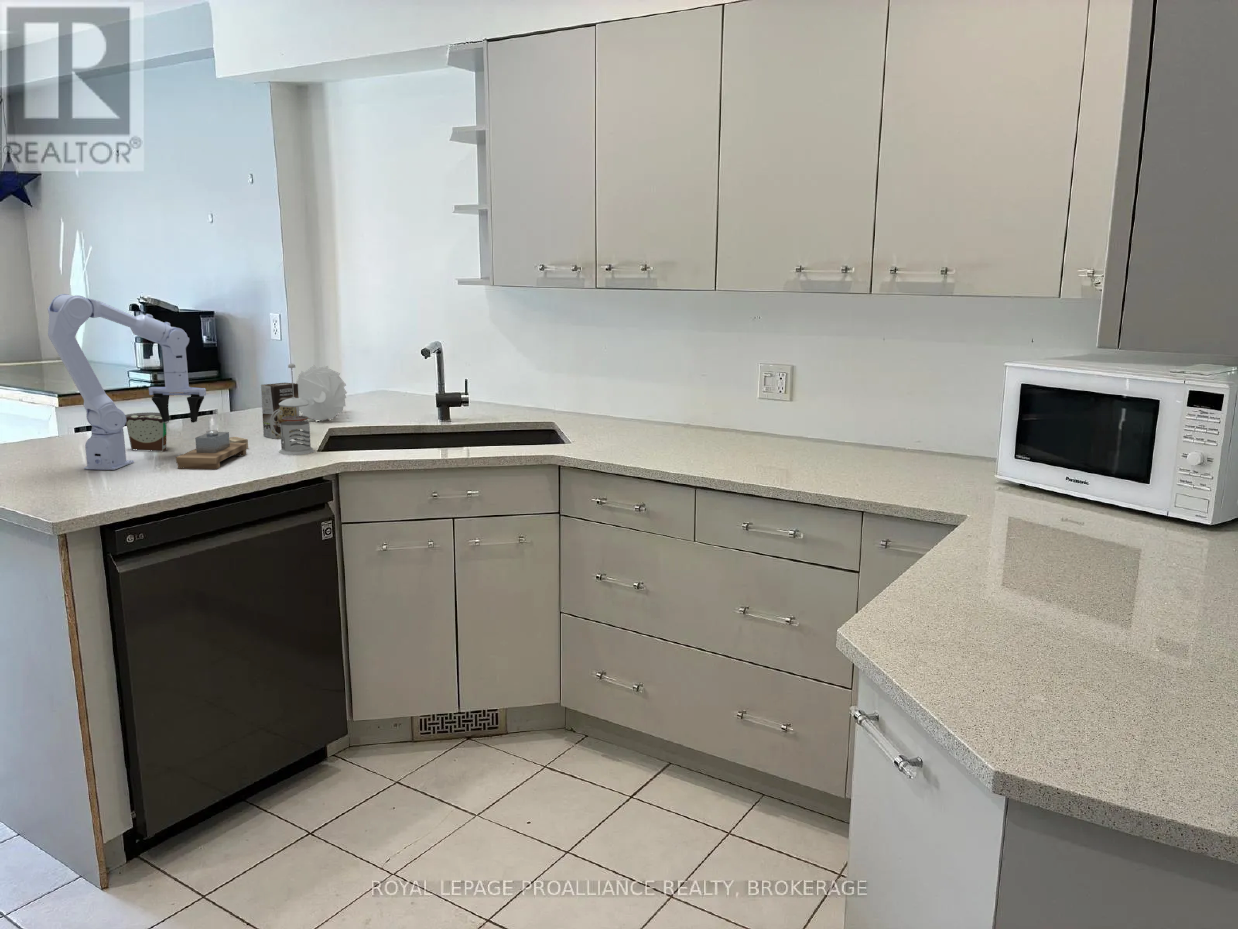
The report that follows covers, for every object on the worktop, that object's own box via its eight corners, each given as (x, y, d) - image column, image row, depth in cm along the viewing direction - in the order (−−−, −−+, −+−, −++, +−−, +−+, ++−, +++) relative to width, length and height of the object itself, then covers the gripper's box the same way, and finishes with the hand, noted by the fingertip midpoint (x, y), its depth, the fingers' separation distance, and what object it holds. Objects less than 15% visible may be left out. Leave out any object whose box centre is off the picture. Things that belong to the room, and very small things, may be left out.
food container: (180, 447, 257) (177, 412, 255) (168, 451, 251) (164, 416, 249) (140, 445, 258) (136, 411, 256) (126, 449, 252) (123, 414, 250)
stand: (215, 469, 231) (214, 458, 231) (176, 468, 231) (175, 457, 231) (247, 453, 251) (246, 443, 250) (211, 452, 251) (210, 442, 250)
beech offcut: (235, 451, 254) (234, 441, 254) (223, 448, 258) (222, 438, 257) (248, 449, 258) (247, 439, 257) (236, 446, 261) (235, 436, 260)
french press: (320, 452, 255) (316, 364, 250) (279, 457, 248) (274, 366, 242) (306, 446, 262) (301, 360, 257) (266, 451, 255) (260, 363, 249)
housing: (215, 453, 237) (214, 434, 235) (196, 452, 237) (194, 434, 235) (229, 446, 245) (228, 428, 244) (211, 446, 245) (210, 428, 244)
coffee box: (276, 439, 272) (272, 386, 268) (262, 436, 275) (259, 384, 272) (301, 435, 279) (298, 383, 276) (288, 432, 283) (285, 381, 279)
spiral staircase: (333, 422, 324) (335, 431, 300) (285, 402, 317) (283, 410, 294) (354, 376, 323) (357, 382, 300) (306, 355, 317) (305, 359, 294)
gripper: (209, 370, 246) (213, 419, 249) (156, 369, 246) (160, 418, 249) (197, 373, 239) (201, 424, 242) (143, 372, 239) (147, 422, 242)
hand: (180, 421), depth 245 cm, fingers open, 7 cm apart
